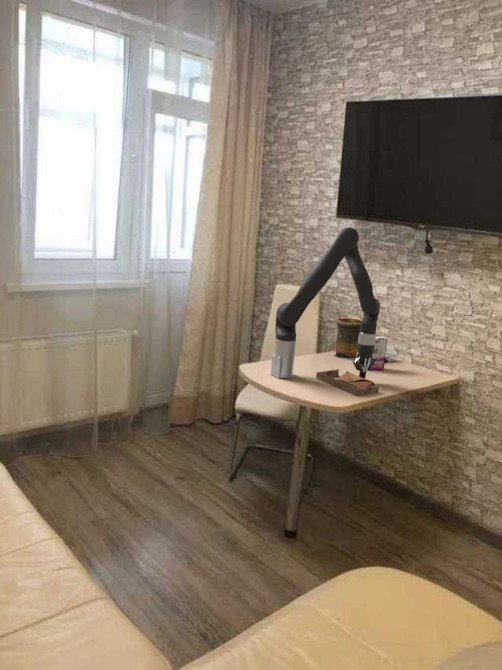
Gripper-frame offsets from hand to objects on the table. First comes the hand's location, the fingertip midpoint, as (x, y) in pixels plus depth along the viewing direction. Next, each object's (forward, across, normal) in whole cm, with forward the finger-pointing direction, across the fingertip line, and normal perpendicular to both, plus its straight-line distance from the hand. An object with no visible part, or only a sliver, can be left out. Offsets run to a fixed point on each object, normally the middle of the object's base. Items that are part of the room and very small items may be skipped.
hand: (362, 379), depth 252 cm
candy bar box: (+2, -22, -14) cm, 26 cm away
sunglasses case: (+2, +5, +1) cm, 6 cm away
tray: (+1, +10, 0) cm, 10 cm away
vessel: (+2, -27, -37) cm, 46 cm away
